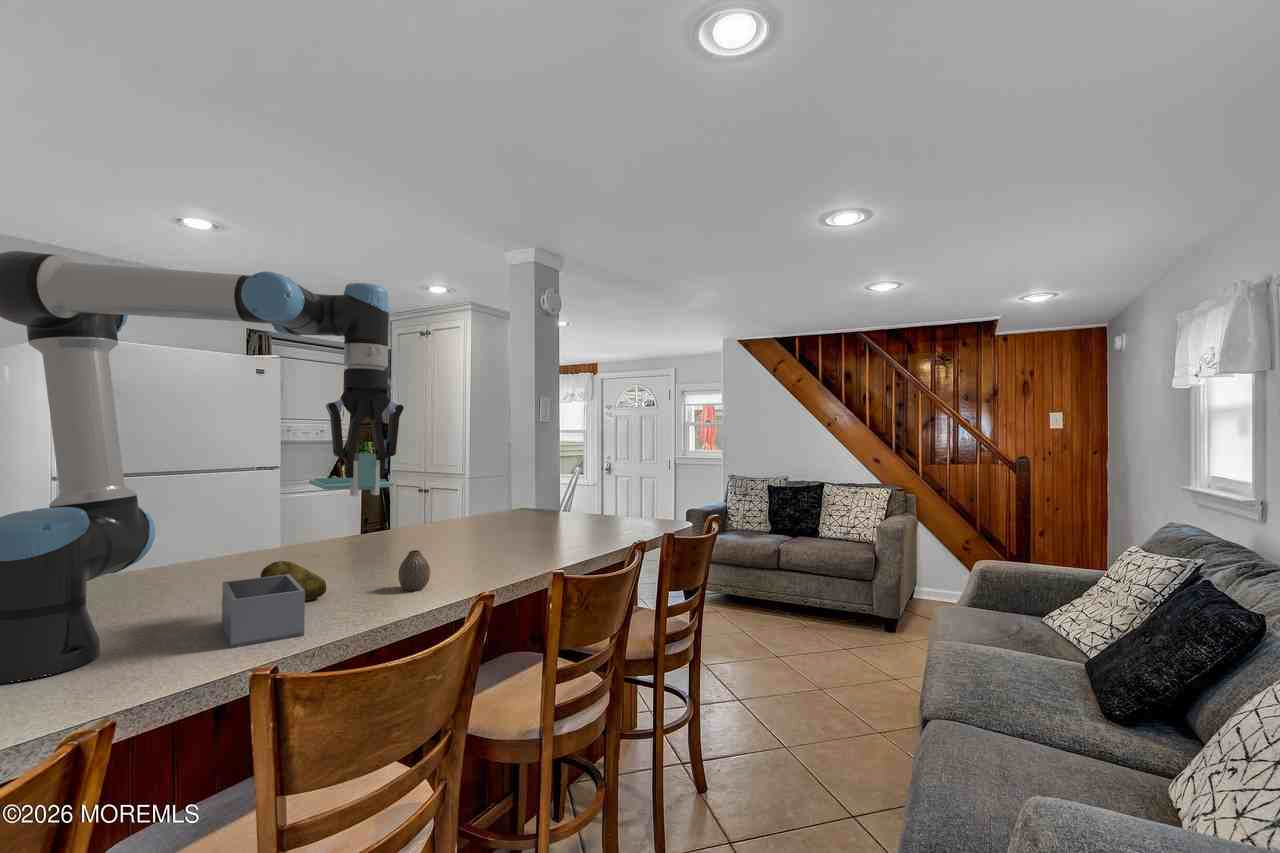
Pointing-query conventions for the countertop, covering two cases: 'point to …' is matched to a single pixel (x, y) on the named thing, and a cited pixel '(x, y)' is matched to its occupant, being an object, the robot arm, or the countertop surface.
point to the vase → (414, 572)
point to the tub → (262, 610)
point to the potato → (298, 577)
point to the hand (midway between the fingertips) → (364, 494)
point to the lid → (364, 476)
